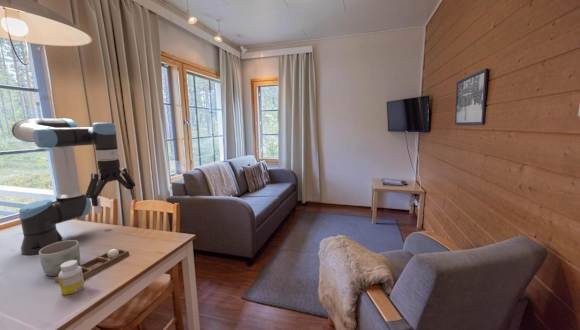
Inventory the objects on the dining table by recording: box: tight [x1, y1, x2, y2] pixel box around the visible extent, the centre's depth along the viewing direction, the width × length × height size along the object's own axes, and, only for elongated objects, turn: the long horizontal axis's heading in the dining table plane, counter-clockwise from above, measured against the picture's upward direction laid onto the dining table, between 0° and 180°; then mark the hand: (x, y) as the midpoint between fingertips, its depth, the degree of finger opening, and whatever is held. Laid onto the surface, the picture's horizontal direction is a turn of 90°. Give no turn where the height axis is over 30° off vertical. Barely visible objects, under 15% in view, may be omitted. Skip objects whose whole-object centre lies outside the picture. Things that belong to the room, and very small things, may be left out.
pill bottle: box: [58, 260, 85, 297], centre depth 91 cm, size 6×6×12 cm
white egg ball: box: [106, 248, 119, 259], centre depth 113 cm, size 4×4×4 cm
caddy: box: [54, 247, 130, 285], centre depth 106 cm, size 9×24×2 cm, turn 161°
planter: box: [38, 239, 81, 277], centre depth 104 cm, size 12×12×11 cm
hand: (114, 207), depth 107 cm, fingers open, 13 cm apart
